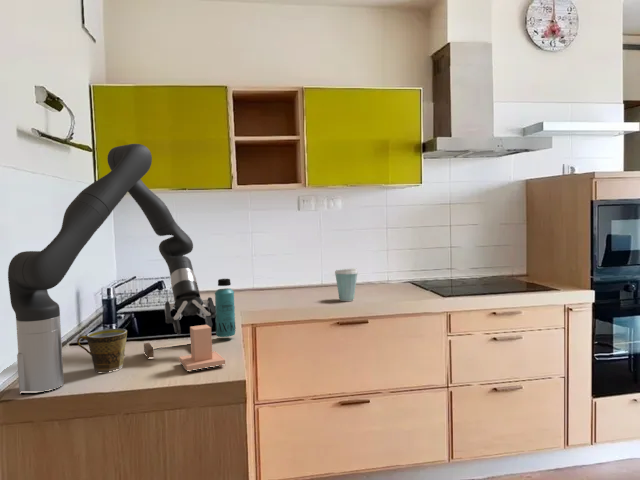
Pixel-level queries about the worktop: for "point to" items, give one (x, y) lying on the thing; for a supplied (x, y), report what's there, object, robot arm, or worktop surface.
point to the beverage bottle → (224, 310)
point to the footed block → (201, 350)
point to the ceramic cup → (106, 348)
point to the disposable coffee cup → (346, 283)
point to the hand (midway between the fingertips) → (194, 331)
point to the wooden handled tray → (148, 350)
